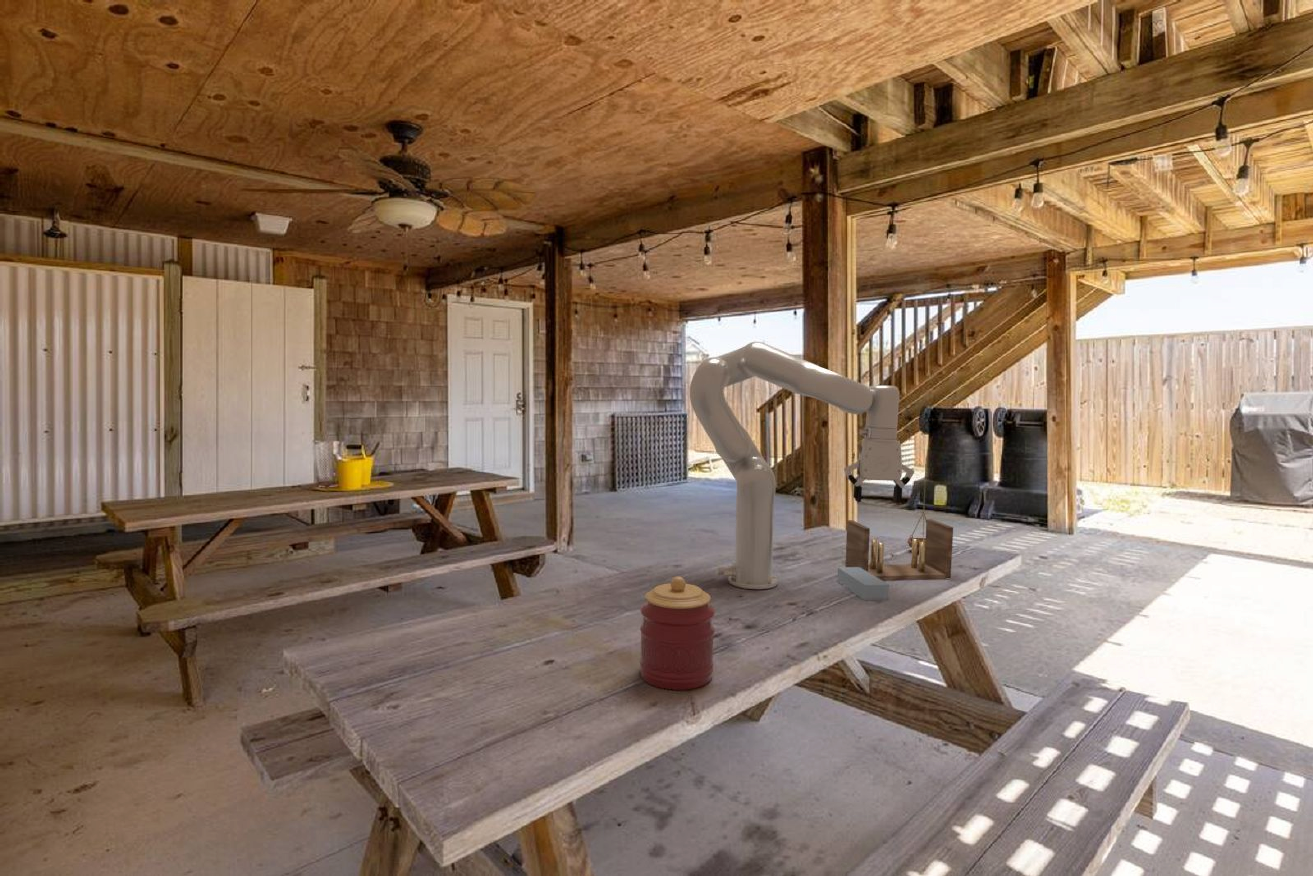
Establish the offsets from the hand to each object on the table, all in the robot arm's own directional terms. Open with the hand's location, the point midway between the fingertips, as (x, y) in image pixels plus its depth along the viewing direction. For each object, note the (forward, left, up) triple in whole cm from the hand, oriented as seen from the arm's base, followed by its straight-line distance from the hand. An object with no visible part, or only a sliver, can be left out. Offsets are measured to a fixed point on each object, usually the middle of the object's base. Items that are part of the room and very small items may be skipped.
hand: (877, 502), depth 175 cm
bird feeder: (+32, +34, -22) cm, 52 cm away
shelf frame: (+12, +11, -22) cm, 28 cm away
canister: (-59, -48, -22) cm, 79 cm away
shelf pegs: (+12, +11, -21) cm, 27 cm away
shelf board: (-4, -2, -22) cm, 23 cm away
